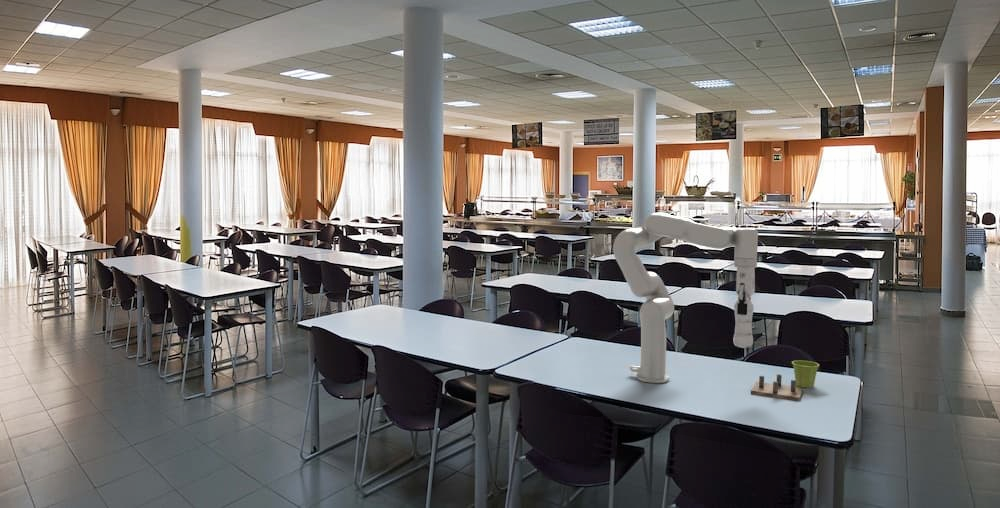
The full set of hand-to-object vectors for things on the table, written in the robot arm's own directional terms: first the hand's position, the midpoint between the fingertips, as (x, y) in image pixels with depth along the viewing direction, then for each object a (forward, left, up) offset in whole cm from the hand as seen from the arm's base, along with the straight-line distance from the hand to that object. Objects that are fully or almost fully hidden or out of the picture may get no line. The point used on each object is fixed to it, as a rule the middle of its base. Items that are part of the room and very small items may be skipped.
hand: (743, 312), depth 225 cm
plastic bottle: (0, 0, -13) cm, 13 cm away
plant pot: (+19, +23, -30) cm, 42 cm away
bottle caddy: (+11, +9, -30) cm, 33 cm away
